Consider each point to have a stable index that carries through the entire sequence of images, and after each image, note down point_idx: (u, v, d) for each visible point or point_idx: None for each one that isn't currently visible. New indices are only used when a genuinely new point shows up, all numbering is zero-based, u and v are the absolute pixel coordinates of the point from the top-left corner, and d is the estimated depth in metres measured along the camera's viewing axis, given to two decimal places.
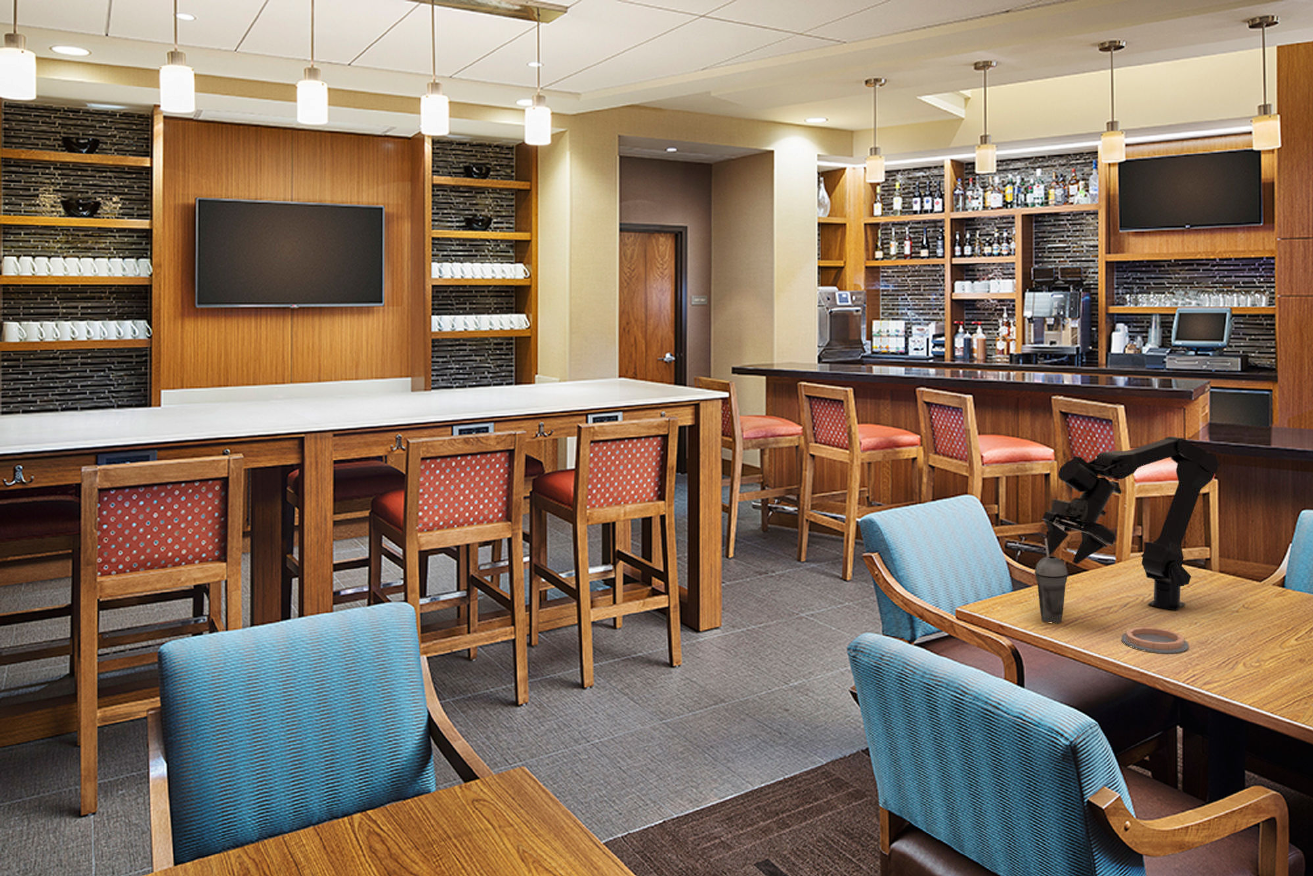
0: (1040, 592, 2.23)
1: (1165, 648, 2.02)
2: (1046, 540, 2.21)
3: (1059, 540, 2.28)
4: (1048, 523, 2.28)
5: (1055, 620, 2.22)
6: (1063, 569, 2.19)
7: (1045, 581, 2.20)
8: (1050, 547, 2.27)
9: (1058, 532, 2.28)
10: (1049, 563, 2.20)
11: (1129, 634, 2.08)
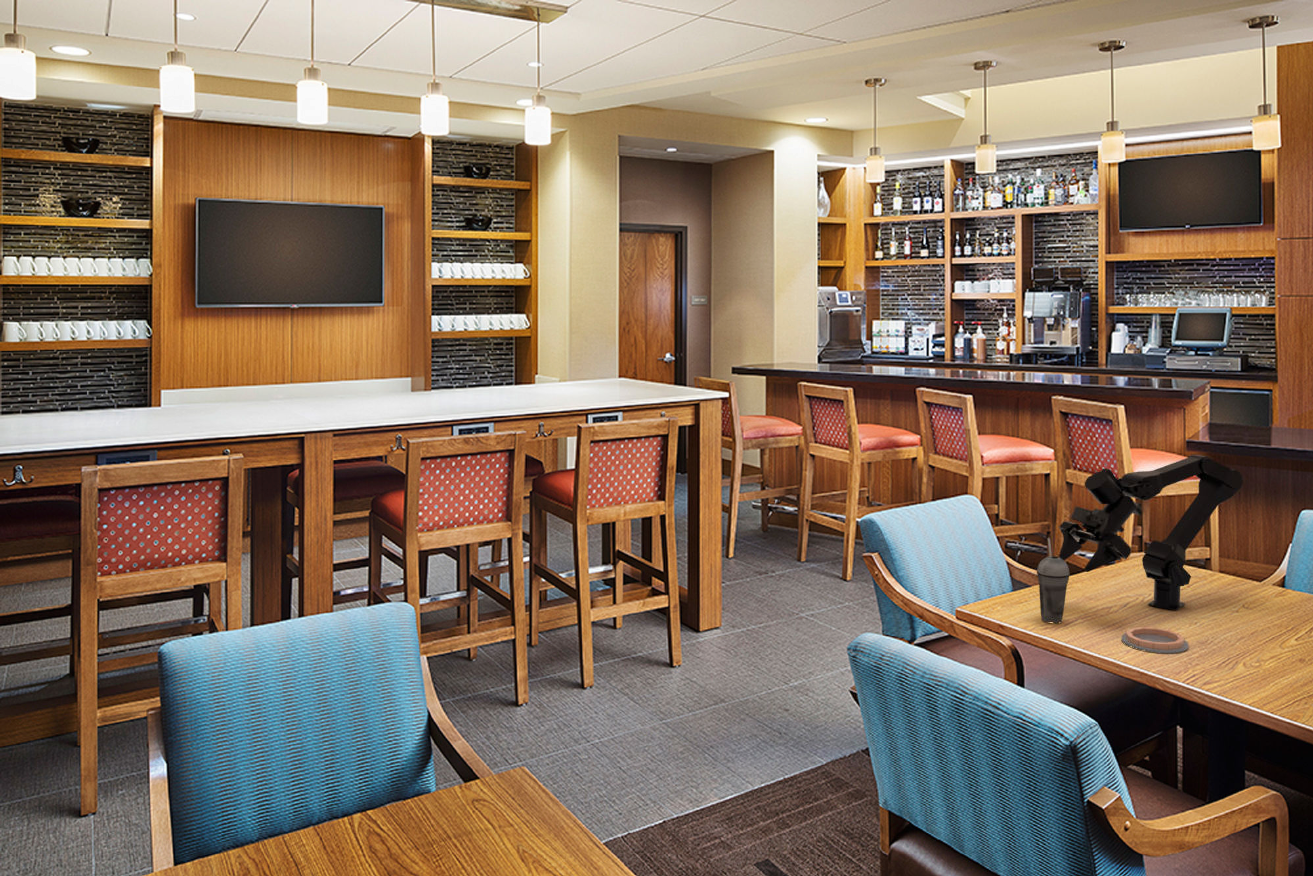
0: (1041, 592, 2.23)
1: (1165, 648, 2.02)
2: (1049, 540, 2.21)
3: (1072, 550, 2.29)
4: (1064, 532, 2.30)
5: (1055, 620, 2.22)
6: (1065, 569, 2.20)
7: (1047, 581, 2.20)
8: (1062, 555, 2.28)
9: (1072, 542, 2.29)
10: (1051, 563, 2.20)
11: (1129, 634, 2.08)
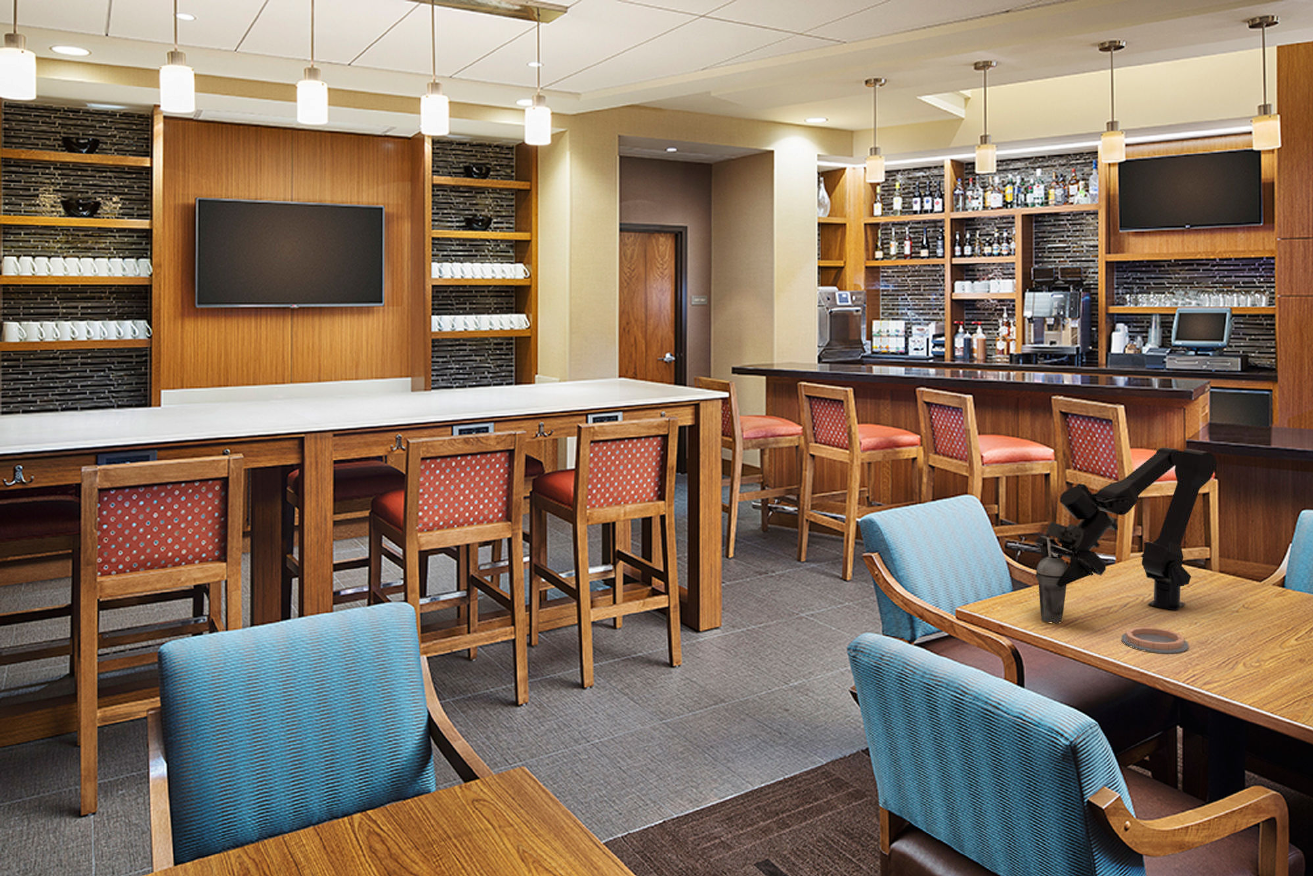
0: (1041, 592, 2.23)
1: (1165, 648, 2.02)
2: (1048, 540, 2.22)
3: None
4: (1042, 548, 2.28)
5: (1055, 620, 2.22)
6: (1064, 569, 2.20)
7: (1046, 580, 2.21)
8: None
9: None
10: (1051, 563, 2.20)
11: (1129, 634, 2.08)
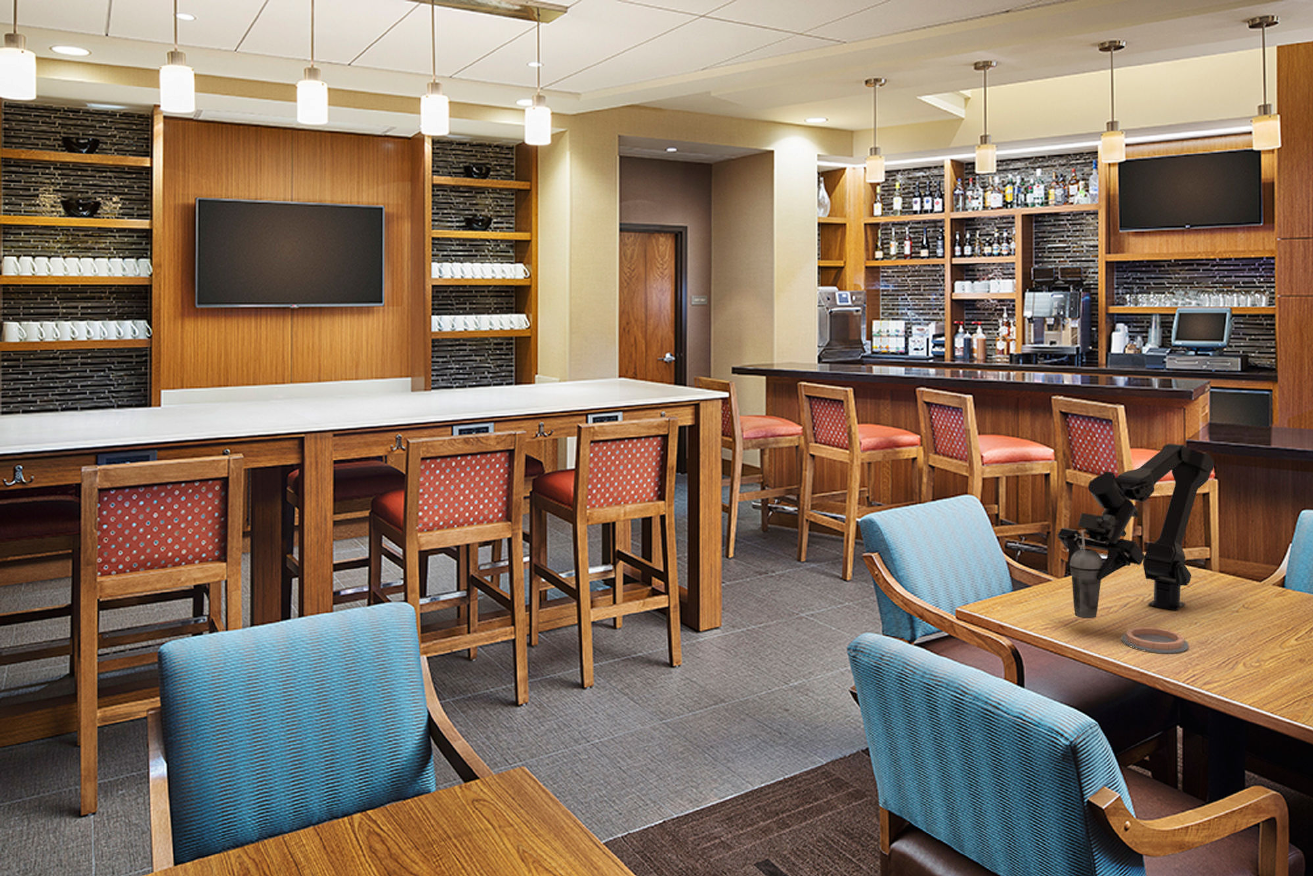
0: (1077, 586, 2.14)
1: (1165, 648, 2.02)
2: (1083, 532, 2.13)
3: None
4: (1069, 540, 2.19)
5: (1092, 615, 2.14)
6: (1101, 561, 2.12)
7: (1085, 574, 2.12)
8: None
9: None
10: (1088, 556, 2.12)
11: (1129, 634, 2.08)
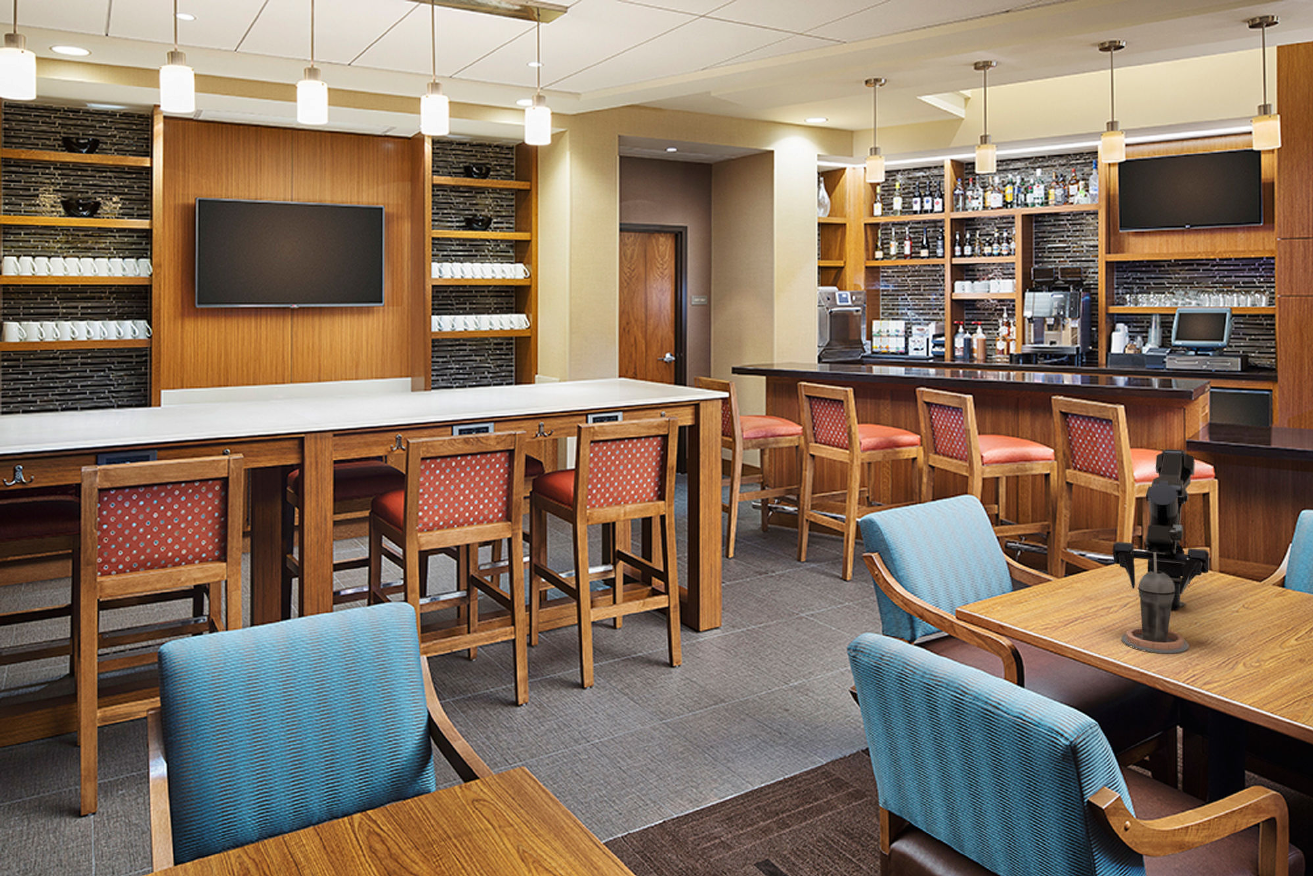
0: (1153, 612, 2.04)
1: (1165, 648, 2.02)
2: None
3: (1134, 573, 2.12)
4: (1127, 554, 2.11)
5: (1165, 639, 2.05)
6: (1173, 583, 2.04)
7: (1163, 599, 2.02)
8: (1134, 580, 2.09)
9: None
10: (1164, 579, 2.03)
11: (1129, 634, 2.08)
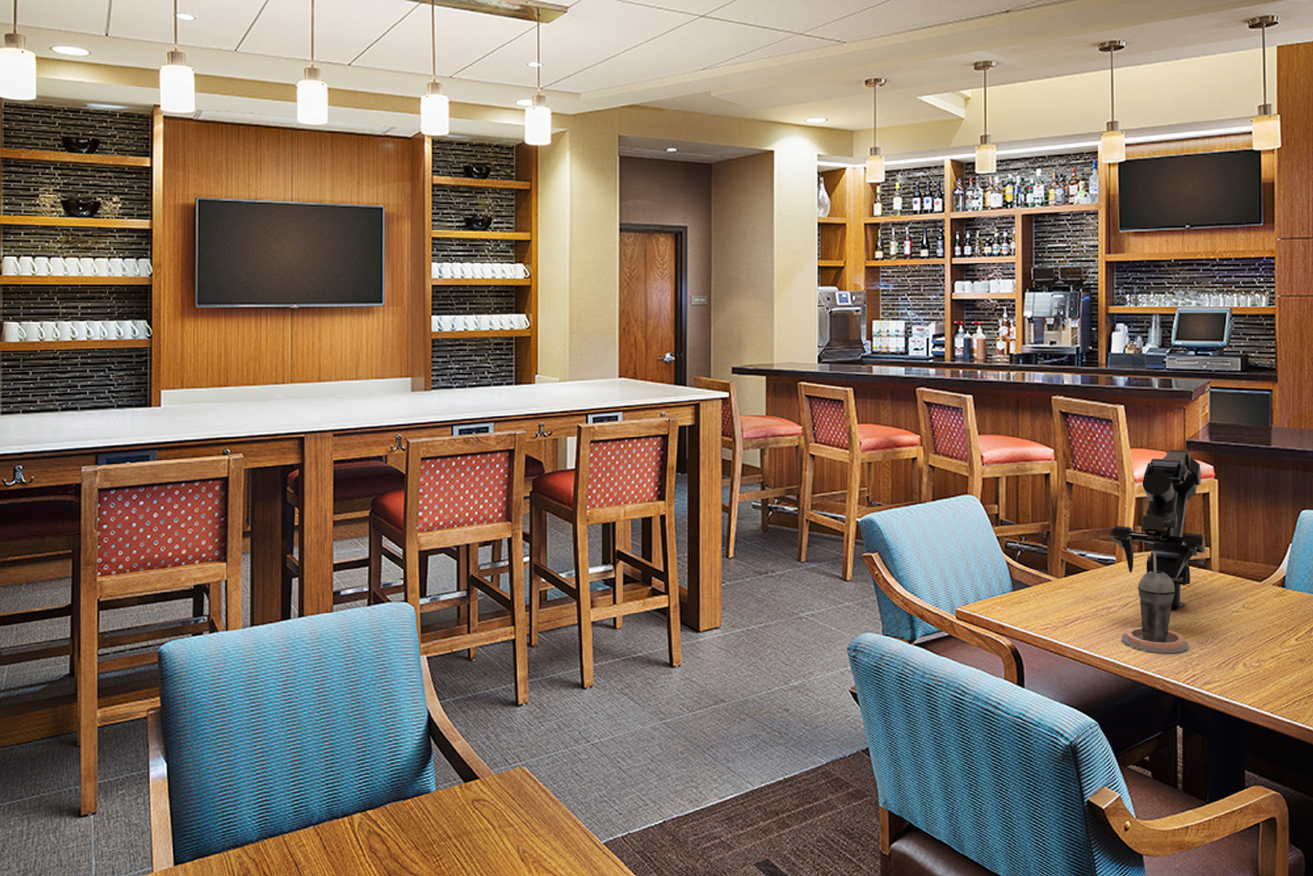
0: (1153, 612, 2.04)
1: (1165, 648, 2.02)
2: (1155, 554, 2.04)
3: (1132, 555, 2.20)
4: (1124, 540, 2.18)
5: (1165, 639, 2.05)
6: (1173, 583, 2.04)
7: (1163, 598, 2.02)
8: (1131, 564, 2.18)
9: (1131, 547, 2.19)
10: (1164, 579, 2.03)
11: (1129, 634, 2.08)
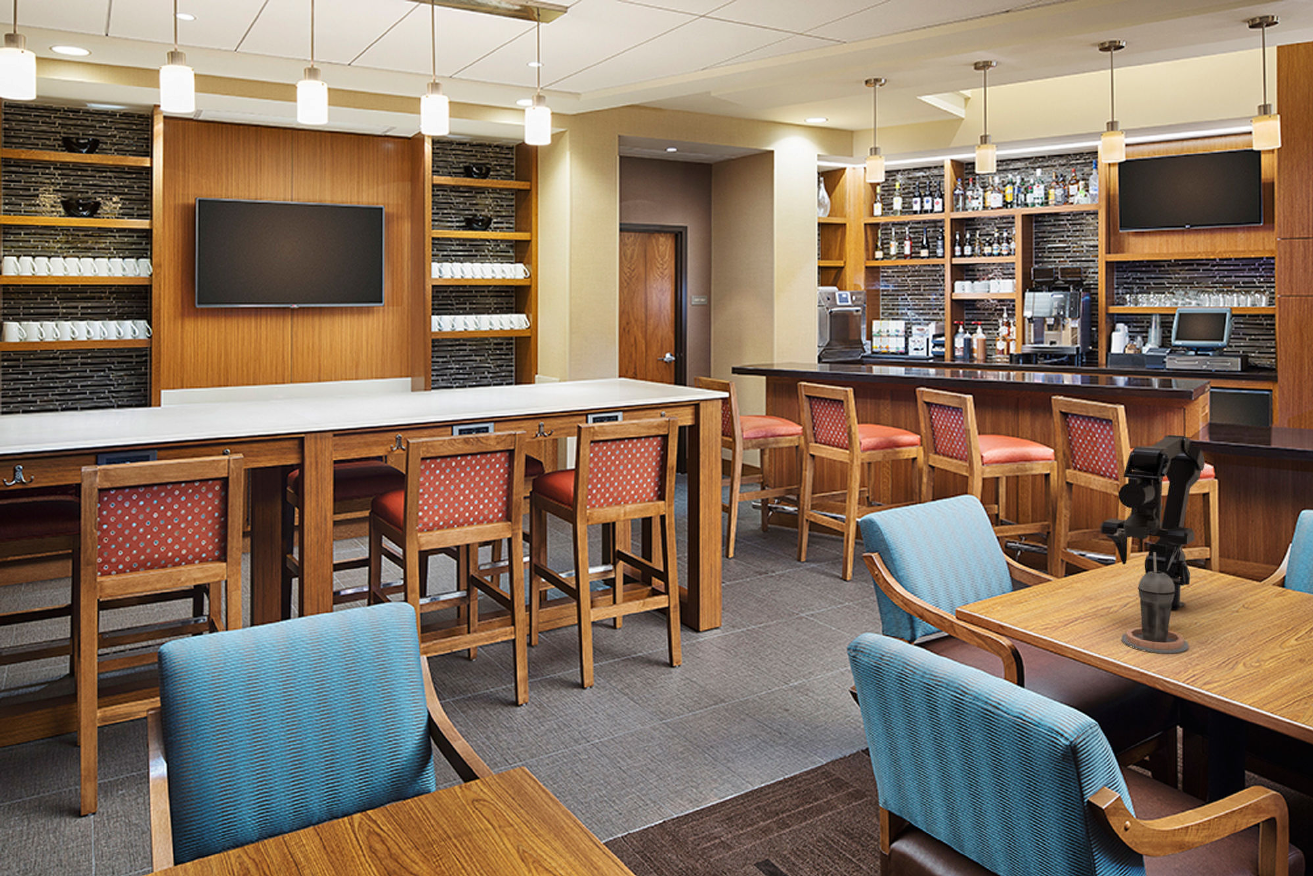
0: (1153, 612, 2.04)
1: (1165, 648, 2.02)
2: None
3: (1125, 545, 2.24)
4: (1113, 537, 2.22)
5: (1165, 639, 2.05)
6: (1173, 583, 2.04)
7: (1163, 599, 2.02)
8: (1124, 557, 2.23)
9: (1123, 539, 2.23)
10: (1164, 579, 2.03)
11: (1129, 634, 2.08)
